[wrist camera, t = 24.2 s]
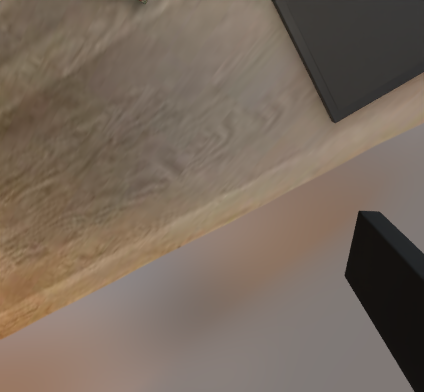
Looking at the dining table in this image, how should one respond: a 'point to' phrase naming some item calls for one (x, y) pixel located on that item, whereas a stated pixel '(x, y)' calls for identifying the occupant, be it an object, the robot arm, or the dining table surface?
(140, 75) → the dining table surface
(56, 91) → the dining table surface
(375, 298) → the robot arm
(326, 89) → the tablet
